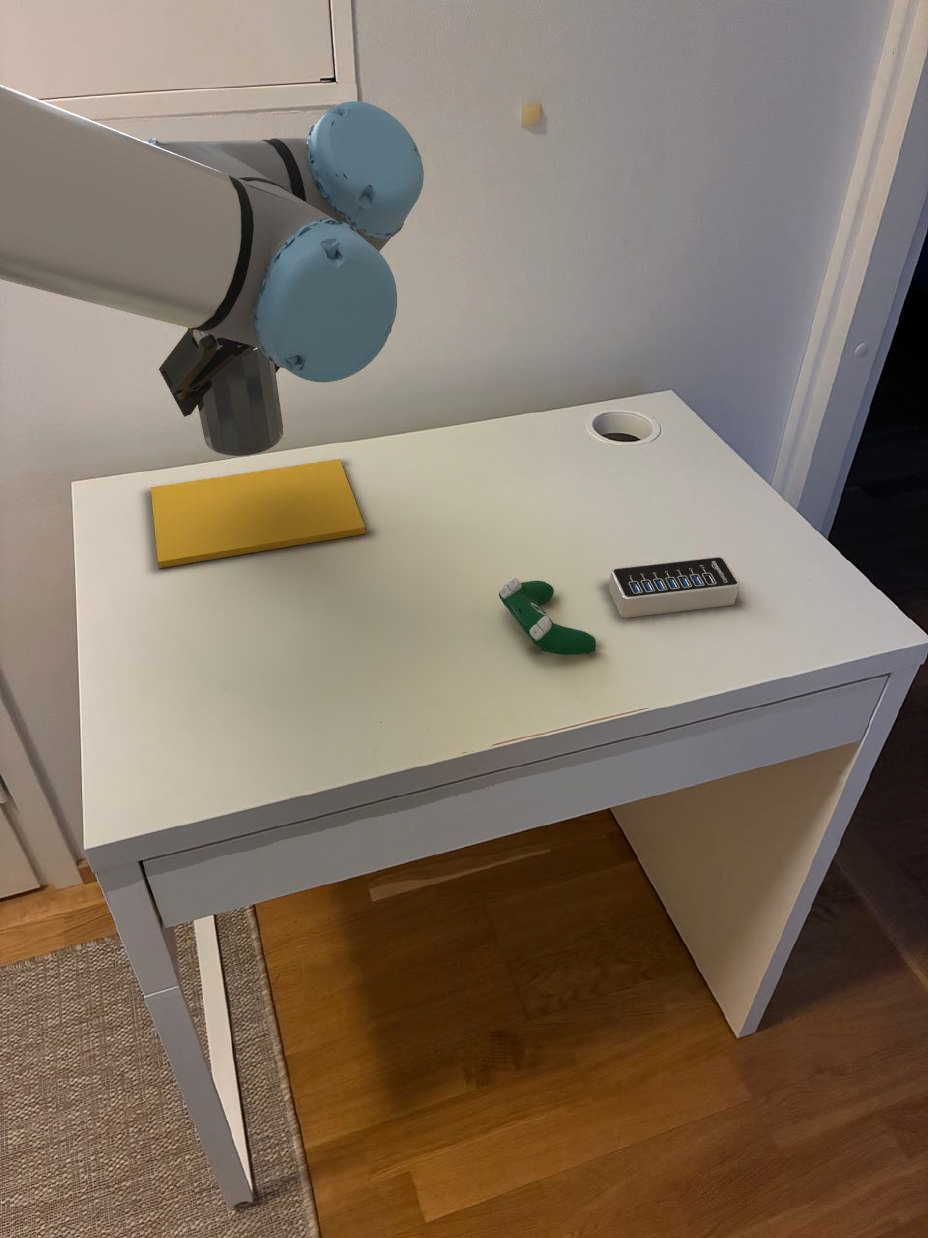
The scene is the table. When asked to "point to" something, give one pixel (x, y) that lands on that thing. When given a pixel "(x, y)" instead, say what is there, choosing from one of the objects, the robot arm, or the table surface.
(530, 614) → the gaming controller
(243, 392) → the steel tumbler
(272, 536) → the mat
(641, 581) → the multiport hub
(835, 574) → the table surface
